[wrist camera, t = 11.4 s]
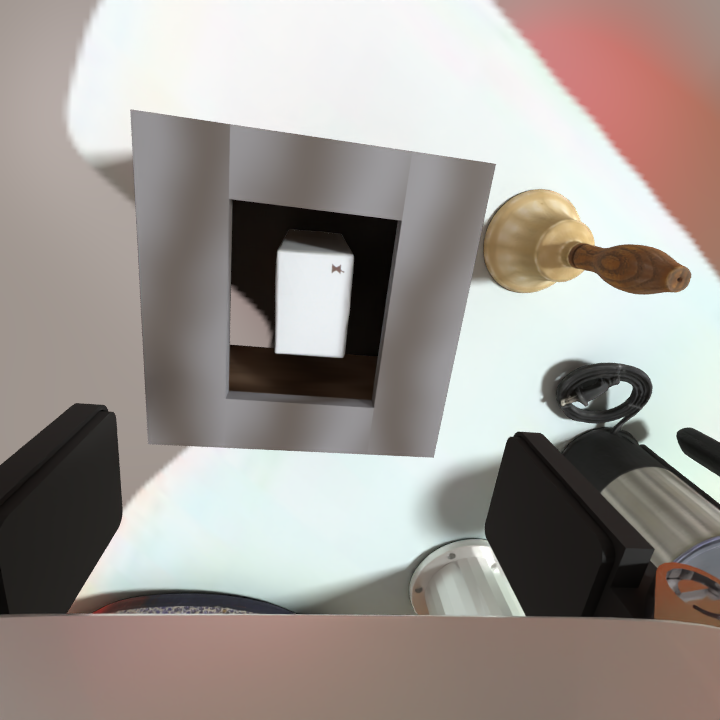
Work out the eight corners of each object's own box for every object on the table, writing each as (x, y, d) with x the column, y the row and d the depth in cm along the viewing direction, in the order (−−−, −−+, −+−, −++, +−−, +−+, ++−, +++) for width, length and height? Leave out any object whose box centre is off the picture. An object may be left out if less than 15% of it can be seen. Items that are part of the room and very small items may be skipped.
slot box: (423, 174, 33) (495, 163, 20) (392, 368, 39) (433, 457, 26) (205, 143, 31) (130, 109, 18) (205, 354, 37) (148, 444, 24)
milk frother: (590, 515, 48) (703, 646, 34) (488, 447, 43) (571, 567, 29) (690, 419, 44) (860, 521, 31) (592, 334, 40) (740, 410, 26)
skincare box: (287, 227, 34) (275, 245, 23) (342, 232, 34) (357, 252, 23) (284, 304, 36) (272, 355, 25) (336, 308, 36) (347, 359, 25)
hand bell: (504, 309, 38) (627, 385, 23) (467, 222, 35) (582, 245, 20) (591, 262, 37) (777, 309, 22) (562, 169, 34) (753, 152, 19)
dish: (321, 683, 53) (322, 730, 49) (45, 674, 48) (17, 726, 43) (346, 588, 48) (350, 630, 44) (40, 567, 43) (8, 613, 38)
